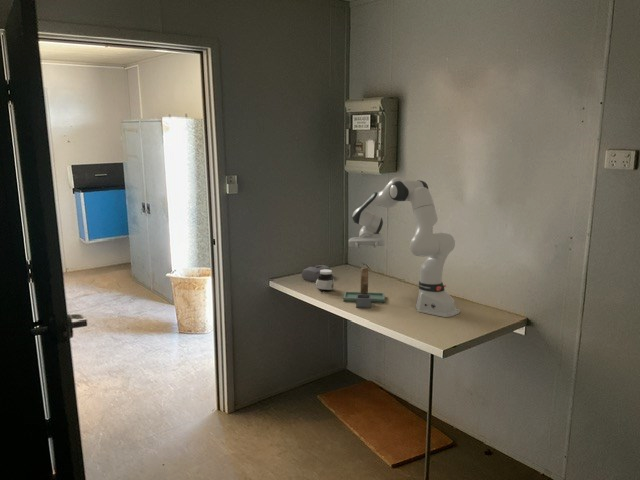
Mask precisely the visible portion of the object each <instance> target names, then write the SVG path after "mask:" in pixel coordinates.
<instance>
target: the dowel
mask: <svg viewBox="0 0 640 480" xmlns="http://www.w3.org/2000/svg"><path fill="white" fill-rule="evenodd" d="M360 292H361V294H365V295H368V292H369V268H367V267H361V268H360Z"/></svg>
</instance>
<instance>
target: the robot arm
mask: <svg viewBox="0 0 640 480" xmlns="http://www.w3.org/2000/svg"><path fill="white" fill-rule="evenodd" d="M399 202H410V203H411V207H412V212H413V216H414V221H415V230H414V231H415V232H414V234H413V237H412V238H411V240H410V242H409V251H410V253H411V254H412V255H413V256H415V257H426V260H425V261H424V262H423V263H421V265H420V269H419V271H420V272H419V281H418V294H417V295H418V296H417V301H416V304H415V309H417V312H418V313H421V314H427V315H432V316H436V317H441V318H451V317H454V316H456V315H459V313H461V310H460V308H457V307H456V301H455V299H454V298H453V297H452V296H451V295H450V294H449V293H448V292H447V291H446V289H445V288H446V287H447V284H444V283H443V271H444V267H445V266H444V265H445V263H446V260H447V258H448V257H449V255H450V254H451V252H452V251H453V250H454V249H455V247H456V240H455V238H454V236H453V235H452V234H450V233H447V232H446V233H445V232H439V233H437V232H435V233H434V232H433V231H434V230H433V229H434V226H435V225H436V224H437V222H438V214H437V211H436V206H435V203H434V199H433V196H432V194H431V192H430V190H429V185H428V184H427V183H426V181H423V180H420V179H418V180H415V179H413V180H410V179H406V180H405V179H404V178H402V177H399V176H395V177H393V178H392V179H390V180H389V182H388V183H387V184H386V185H385V186H384V188H383V189H382V190H380V191H376V192H374V193H372V194H371V195H370V196H368V198H367V199H366V200H364V202H362V204H360V205H359V206H358V207H357V208H356V209H355V210H354V211H353V212H352V217H351V218H352V220H353V223H355V224H357V225H360V226H362V227H361V228H360V229H359V235H358V236H357V237H350V238H349V239H348V247H350V248H356V249H359V248H361V247H363V248H364V247H366V248H367V247H373V248H377V247H383V246H385V239H384V236H383V235H382V233H381V230H382V228H383V225H384V220H383V217H382V216H380V215H379V214H376V213H374V212H372V211H370V210H369V209H370V208H371V207H374V206H377V207H382V208H387V209H388V208H389V209H390V208H394V207H395V206H397V205H398V203H399Z"/></svg>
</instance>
